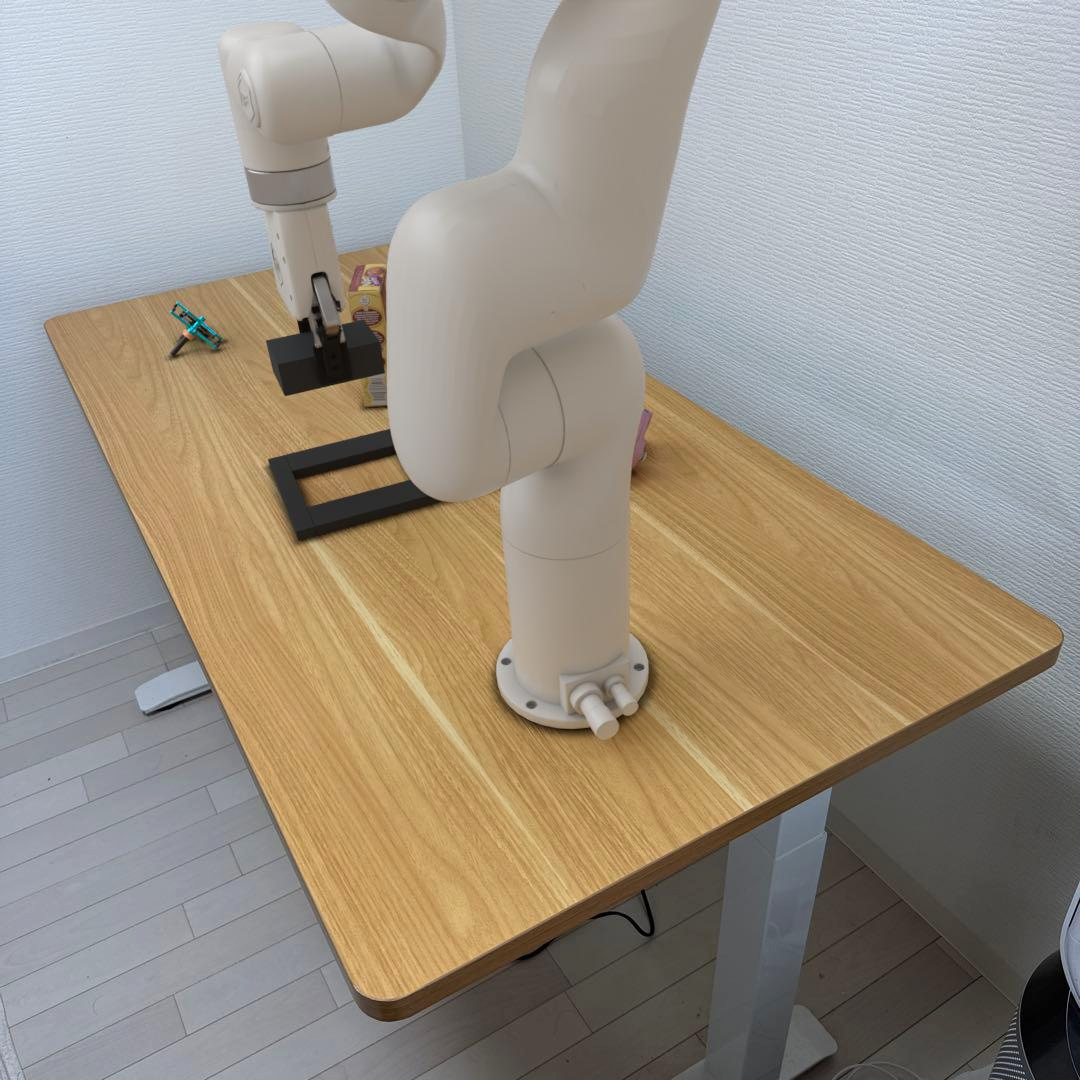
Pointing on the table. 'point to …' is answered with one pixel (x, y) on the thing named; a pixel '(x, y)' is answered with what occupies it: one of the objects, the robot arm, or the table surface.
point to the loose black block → (298, 362)
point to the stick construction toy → (192, 329)
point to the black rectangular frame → (346, 508)
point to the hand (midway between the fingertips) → (327, 365)
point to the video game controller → (641, 438)
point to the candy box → (371, 322)
